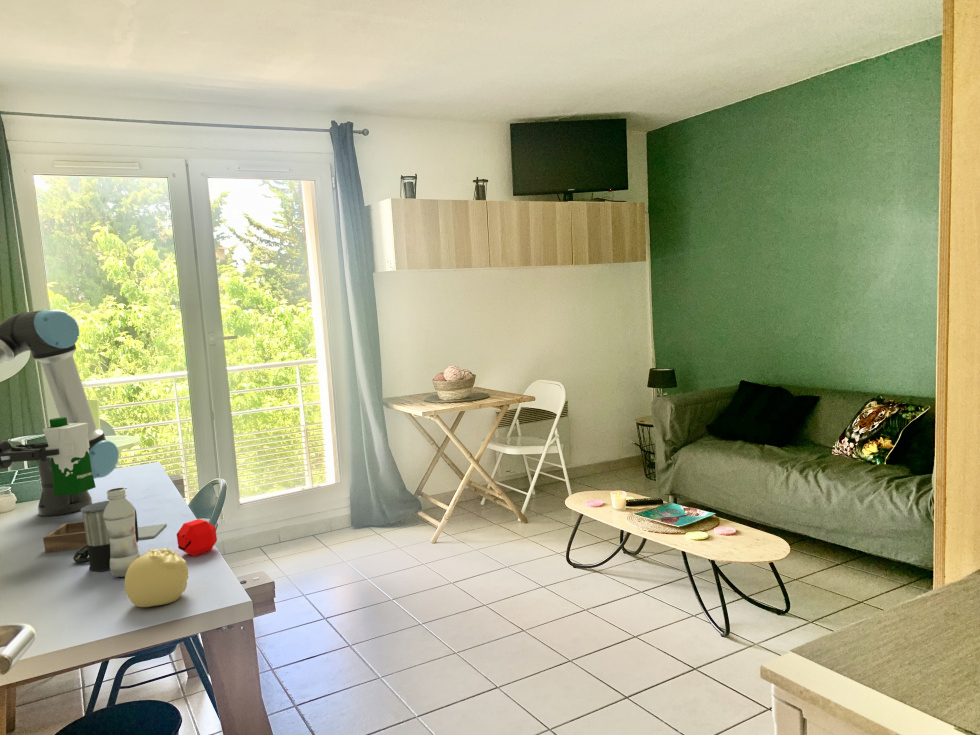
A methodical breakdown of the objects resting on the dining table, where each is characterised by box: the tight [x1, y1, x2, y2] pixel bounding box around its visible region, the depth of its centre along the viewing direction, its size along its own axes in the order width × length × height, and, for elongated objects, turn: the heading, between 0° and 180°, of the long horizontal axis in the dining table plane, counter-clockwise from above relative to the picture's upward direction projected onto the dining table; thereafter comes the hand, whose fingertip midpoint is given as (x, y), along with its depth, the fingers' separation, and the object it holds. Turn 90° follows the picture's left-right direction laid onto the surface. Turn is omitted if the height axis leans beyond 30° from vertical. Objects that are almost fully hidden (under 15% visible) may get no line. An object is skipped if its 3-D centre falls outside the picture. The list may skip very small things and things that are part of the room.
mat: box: [138, 523, 168, 541], centre depth 201 cm, size 11×11×1 cm
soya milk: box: [42, 417, 96, 495], centre depth 196 cm, size 9×9×20 cm
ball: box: [176, 518, 218, 557], centre depth 180 cm, size 8×8×8 cm
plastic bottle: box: [103, 487, 141, 578], centre depth 167 cm, size 6×7×20 cm
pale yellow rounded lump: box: [124, 547, 189, 608], centre depth 150 cm, size 12×12×11 cm
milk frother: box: [72, 500, 139, 572], centre depth 178 cm, size 14×16×15 cm
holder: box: [42, 520, 87, 554], centre depth 198 cm, size 13×13×4 cm
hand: (81, 446), depth 196 cm, fingers closed on soya milk, 9 cm apart
